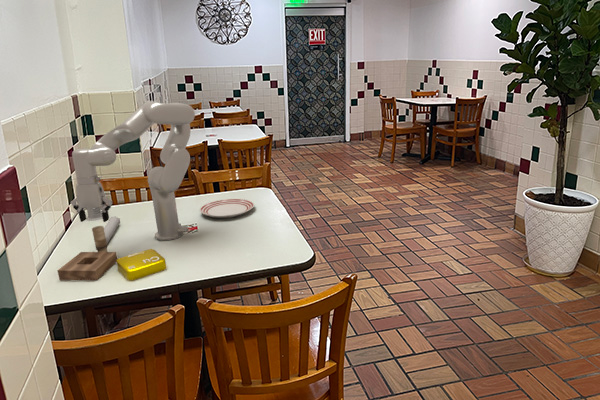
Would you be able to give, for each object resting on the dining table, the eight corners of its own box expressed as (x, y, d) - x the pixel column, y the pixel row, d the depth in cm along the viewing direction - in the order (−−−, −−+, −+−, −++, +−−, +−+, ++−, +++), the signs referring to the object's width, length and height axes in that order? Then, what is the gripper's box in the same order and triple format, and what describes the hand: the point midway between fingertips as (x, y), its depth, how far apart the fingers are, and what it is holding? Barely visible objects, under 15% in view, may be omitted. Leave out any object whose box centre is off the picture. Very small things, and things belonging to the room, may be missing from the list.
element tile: (154, 257, 190) (152, 246, 189) (168, 269, 179) (166, 258, 177) (116, 269, 182) (114, 257, 180) (129, 282, 171) (127, 271, 169)
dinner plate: (206, 204, 251) (206, 198, 250) (257, 202, 249) (257, 196, 248) (194, 223, 225) (193, 216, 224) (250, 221, 223) (250, 214, 222)
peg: (111, 252, 197) (105, 225, 193) (105, 256, 192) (100, 229, 188) (100, 252, 197) (95, 225, 193) (95, 256, 193) (89, 230, 189)
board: (117, 261, 188) (116, 251, 187) (97, 280, 173) (95, 270, 172) (83, 260, 190) (81, 252, 188) (59, 280, 175) (57, 270, 173)
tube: (108, 238, 202) (121, 217, 225) (95, 235, 201) (109, 215, 224) (106, 249, 203) (119, 227, 227) (94, 246, 202) (108, 225, 225)
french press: (82, 219, 237) (71, 172, 229) (98, 212, 247) (88, 166, 239) (97, 221, 233) (88, 173, 225) (113, 213, 244) (104, 166, 236)
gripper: (112, 177, 187) (119, 217, 192) (72, 177, 189) (79, 217, 194) (103, 182, 180) (110, 224, 185) (61, 182, 182) (69, 223, 187)
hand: (94, 220), depth 189 cm, fingers open, 9 cm apart
